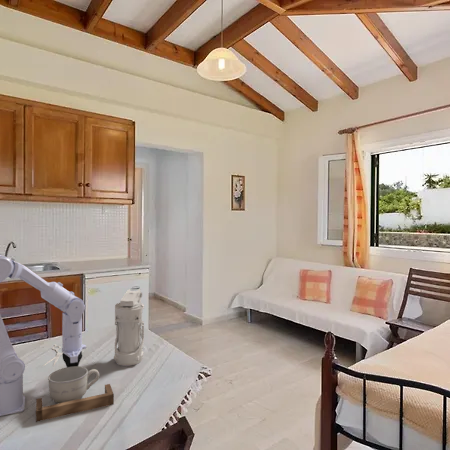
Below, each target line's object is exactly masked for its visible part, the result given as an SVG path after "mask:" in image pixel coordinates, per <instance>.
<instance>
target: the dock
mask: <svg viewBox="0 0 450 450" xmlns="http://www.w3.org/2000/svg"><path fill="white" fill-rule="evenodd" d="M114 396H115V393H114V390H113V389H112V385H111V383H107V384H104V393H100V394H97V395H93V396H87V397H81V399H77V400H73V401H68V402H63V403H59V404H58V403H55V404H50V405H45V406H43V397H38V398H36V399H35V400H36V401H35V423H38V422H43V421H47V420H51V419H55V418H56V419H57V418H61V417H65V416H69V415H72V414H74V415H75V414H76V413H82V412H87V411H90V410H94V409H99V408H103V407H108V406H113V405H115V402H114V398H115V397H114Z"/></svg>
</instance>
